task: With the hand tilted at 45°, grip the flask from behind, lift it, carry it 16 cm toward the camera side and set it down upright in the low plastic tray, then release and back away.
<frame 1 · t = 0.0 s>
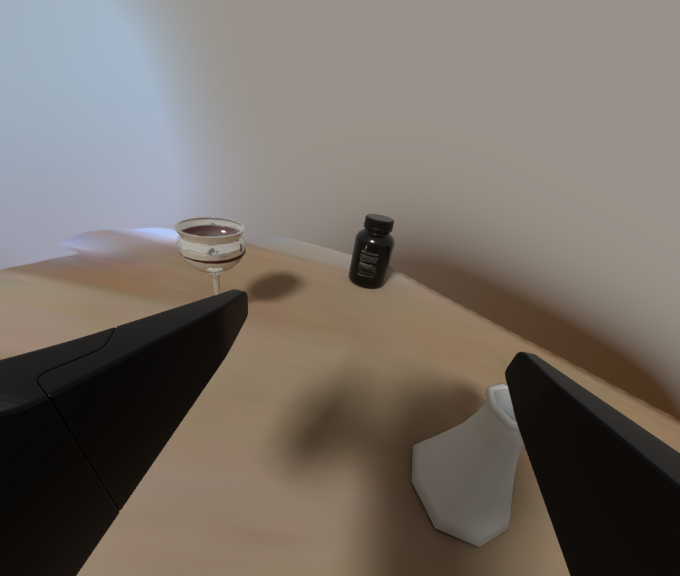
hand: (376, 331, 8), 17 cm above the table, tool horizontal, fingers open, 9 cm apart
wineglass: (219, 318, 33), on the table
flask: (453, 486, 20), on the table
supplement bottle: (365, 281, 48), on the table
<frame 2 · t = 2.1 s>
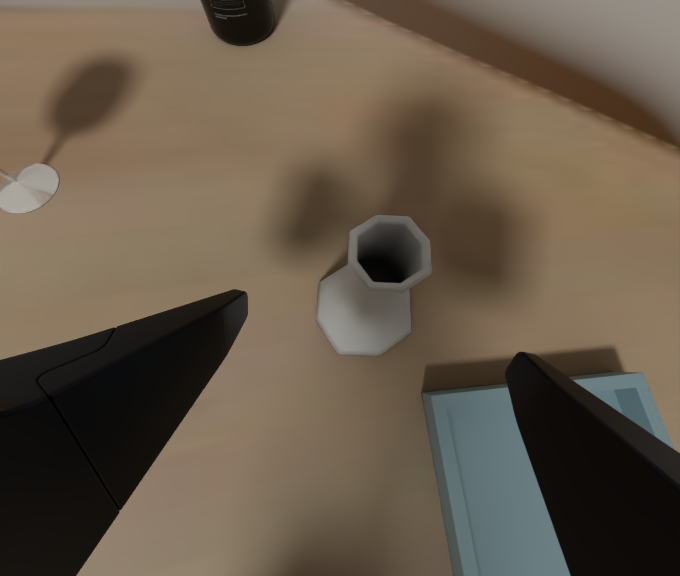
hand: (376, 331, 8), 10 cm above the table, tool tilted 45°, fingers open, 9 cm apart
wineglass: (30, 189, 22), on the table
flask: (362, 308, 19), on the table
supplement bottle: (244, 28, 28), on the table
tray: (551, 499, 16), on the table
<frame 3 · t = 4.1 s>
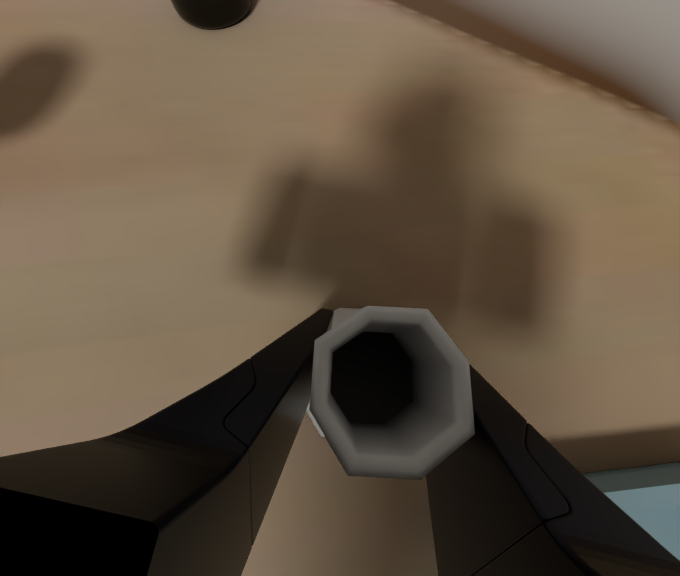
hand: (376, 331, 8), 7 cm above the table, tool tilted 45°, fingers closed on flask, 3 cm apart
flask: (355, 368, 15), on the table, touching gripper
supplement bottle: (216, 9, 23), on the table
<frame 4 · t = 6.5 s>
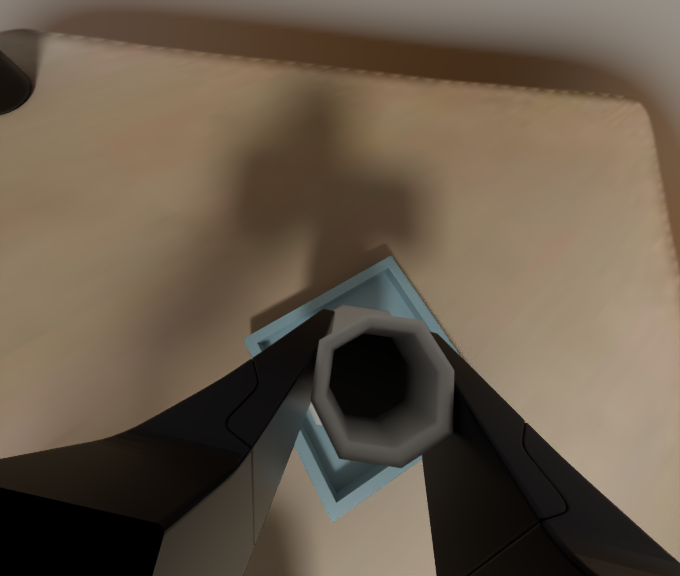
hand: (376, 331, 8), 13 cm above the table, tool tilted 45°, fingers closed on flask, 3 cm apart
flask: (354, 364, 15), point 6 cm above the table, touching gripper
supplement bottle: (4, 95, 28), on the table
tray: (363, 370, 21), on the table
when the fingers open (8 cm above the table, at t = 8.1 s): flask stays where it is, resting on tray.
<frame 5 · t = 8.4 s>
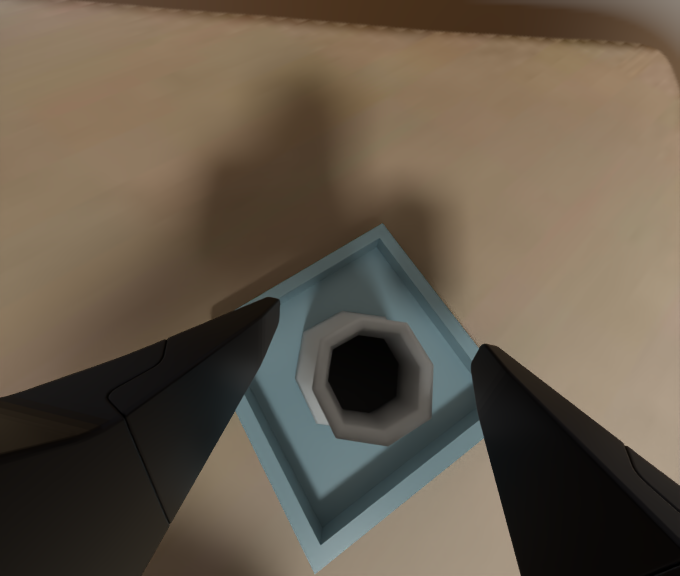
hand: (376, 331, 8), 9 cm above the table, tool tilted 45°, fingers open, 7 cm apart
flask: (352, 367, 16), resting on tray
tray: (352, 367, 16), on the table
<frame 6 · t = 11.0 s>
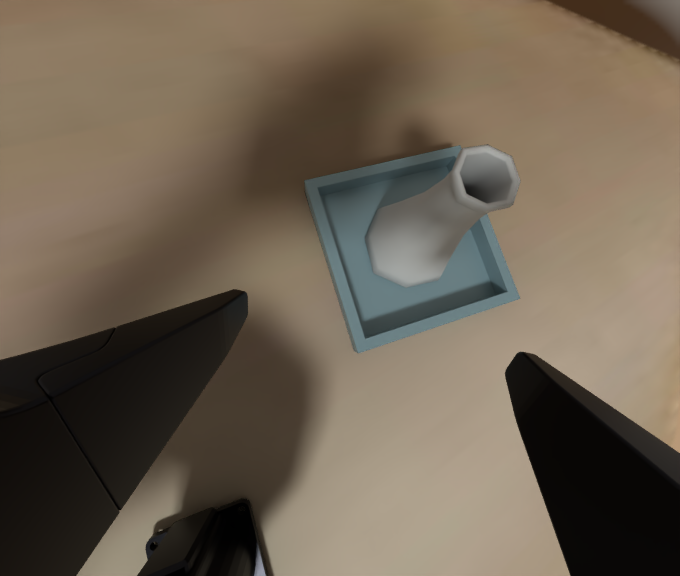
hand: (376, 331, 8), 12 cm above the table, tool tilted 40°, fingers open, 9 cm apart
flask: (405, 246, 21), resting on tray
tray: (405, 247, 22), on the table
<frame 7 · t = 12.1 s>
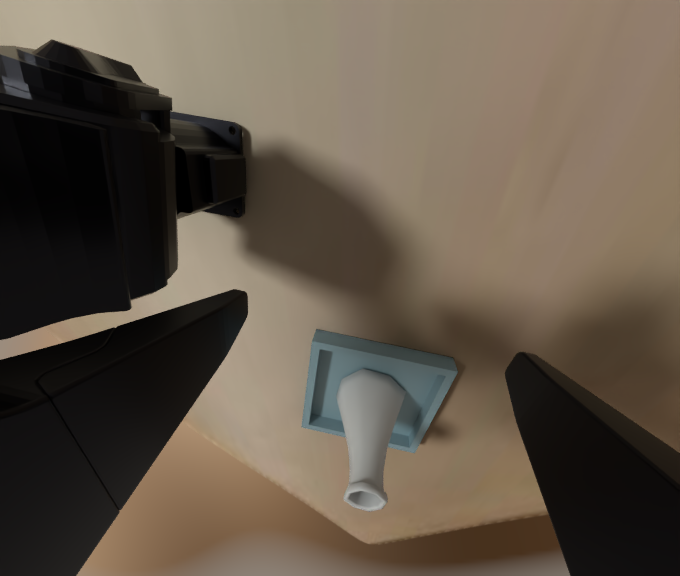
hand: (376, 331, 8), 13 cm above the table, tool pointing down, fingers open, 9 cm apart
flask: (370, 390, 28), resting on tray
tray: (369, 389, 28), on the table
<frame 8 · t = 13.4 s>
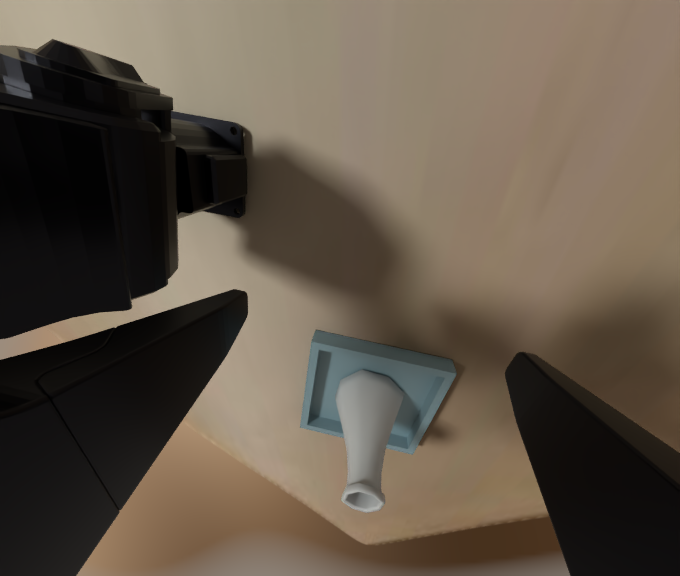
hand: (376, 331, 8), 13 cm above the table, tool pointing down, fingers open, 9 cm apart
flask: (368, 391, 28), resting on tray
tray: (368, 390, 28), on the table
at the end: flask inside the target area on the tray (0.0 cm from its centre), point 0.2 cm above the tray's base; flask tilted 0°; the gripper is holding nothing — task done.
